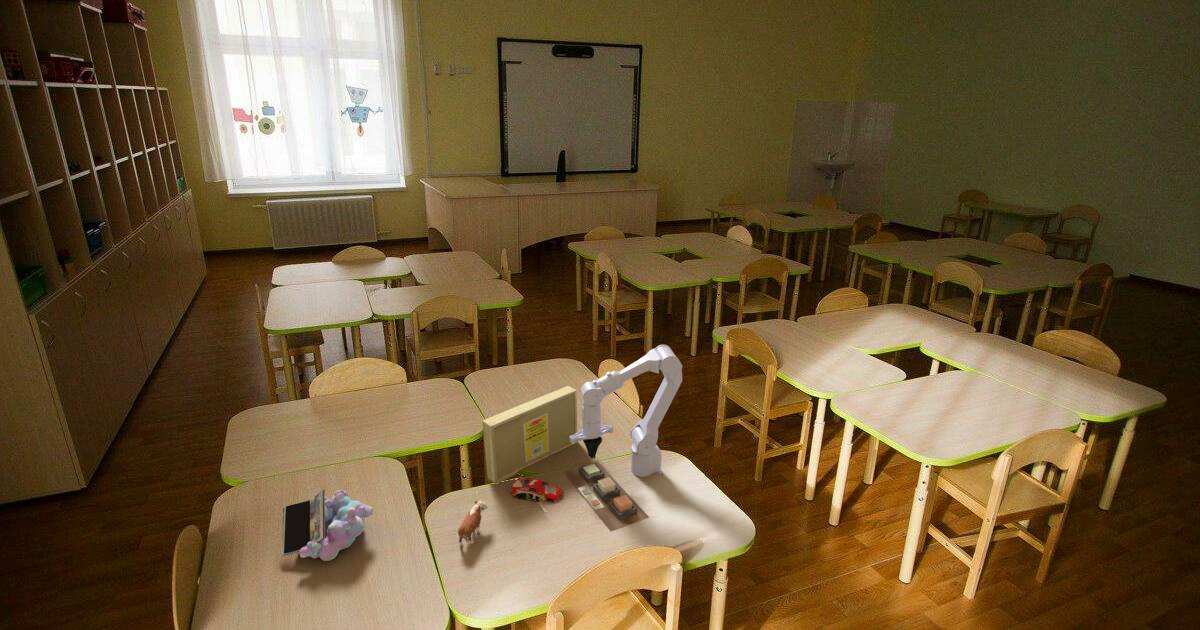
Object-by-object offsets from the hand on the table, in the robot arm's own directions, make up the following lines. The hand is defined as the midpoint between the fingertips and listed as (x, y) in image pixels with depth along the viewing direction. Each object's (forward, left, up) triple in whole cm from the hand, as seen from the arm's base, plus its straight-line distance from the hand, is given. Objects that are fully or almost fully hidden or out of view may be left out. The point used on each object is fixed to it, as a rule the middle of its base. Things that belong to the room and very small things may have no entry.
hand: (591, 456), depth 202 cm
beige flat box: (+13, -18, -9) cm, 23 cm away
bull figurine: (+42, +8, -9) cm, 44 cm away
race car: (+19, 0, -9) cm, 21 cm away
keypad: (+1, +10, -8) cm, 13 cm away
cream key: (0, +10, -6) cm, 12 cm away
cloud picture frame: (+78, -7, -9) cm, 79 cm away
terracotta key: (0, +20, -6) cm, 21 cm away
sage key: (0, 0, -7) cm, 7 cm away
